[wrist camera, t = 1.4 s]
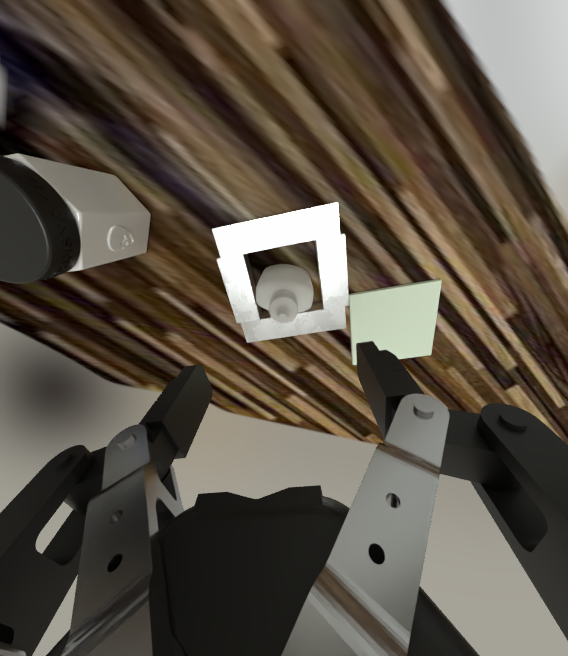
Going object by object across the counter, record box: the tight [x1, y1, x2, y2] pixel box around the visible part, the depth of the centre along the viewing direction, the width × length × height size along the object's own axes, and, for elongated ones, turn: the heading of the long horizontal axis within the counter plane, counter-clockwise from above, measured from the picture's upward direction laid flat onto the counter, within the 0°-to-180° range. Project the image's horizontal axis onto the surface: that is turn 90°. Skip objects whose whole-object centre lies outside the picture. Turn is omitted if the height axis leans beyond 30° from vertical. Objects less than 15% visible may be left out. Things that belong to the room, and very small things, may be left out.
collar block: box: [212, 202, 349, 343], centre depth 26 cm, size 14×14×2 cm
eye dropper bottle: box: [256, 264, 314, 323], centre depth 22 cm, size 4×6×12 cm
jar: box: [0, 153, 151, 283], centre depth 19 cm, size 9×8×12 cm
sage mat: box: [348, 279, 442, 365], centre depth 30 cm, size 11×11×1 cm
